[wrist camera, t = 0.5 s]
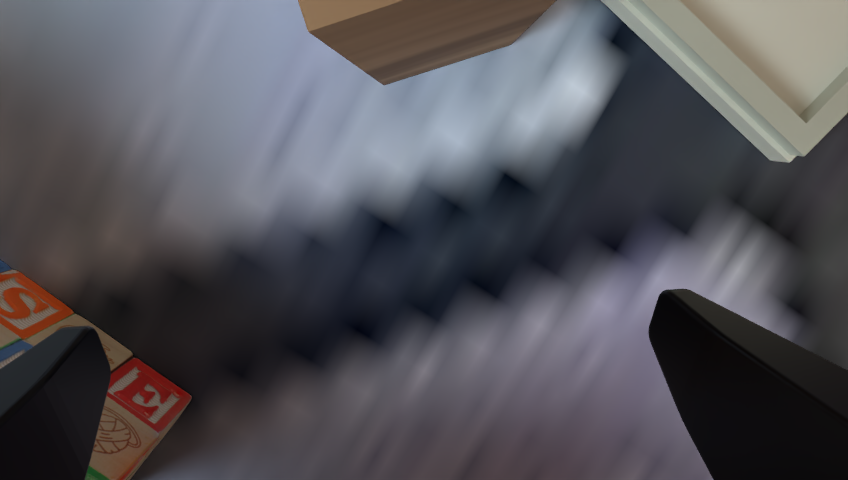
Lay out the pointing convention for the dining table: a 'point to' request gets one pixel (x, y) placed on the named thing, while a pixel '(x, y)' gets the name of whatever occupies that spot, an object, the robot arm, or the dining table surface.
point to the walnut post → (417, 31)
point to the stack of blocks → (129, 385)
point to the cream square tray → (755, 62)
